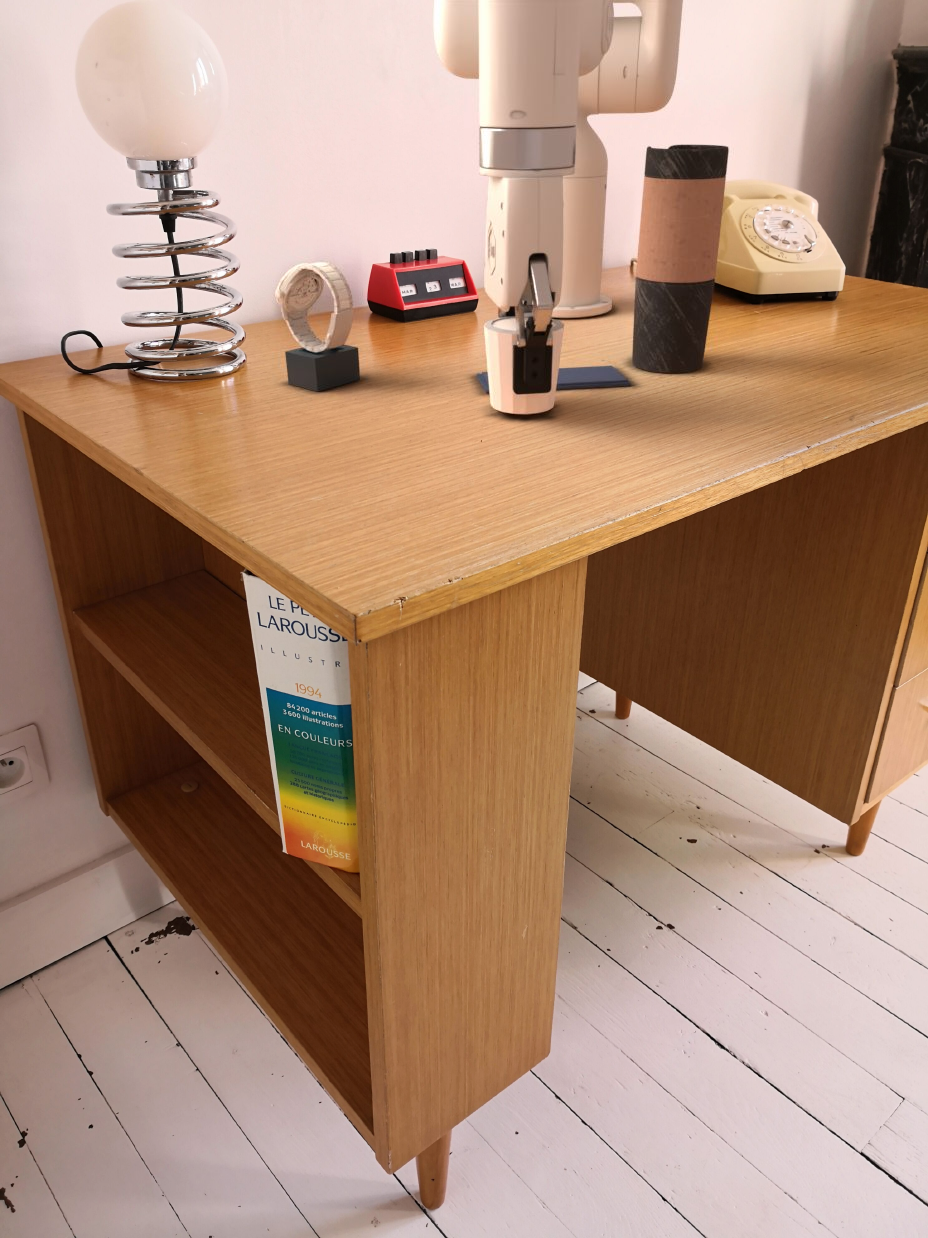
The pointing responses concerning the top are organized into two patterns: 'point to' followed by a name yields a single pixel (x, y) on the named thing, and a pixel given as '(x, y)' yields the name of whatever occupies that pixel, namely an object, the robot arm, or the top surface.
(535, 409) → the cream tapered cup
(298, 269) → the watch
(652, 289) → the travel mug
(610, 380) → the blue flat rectangular slab
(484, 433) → the top surface
